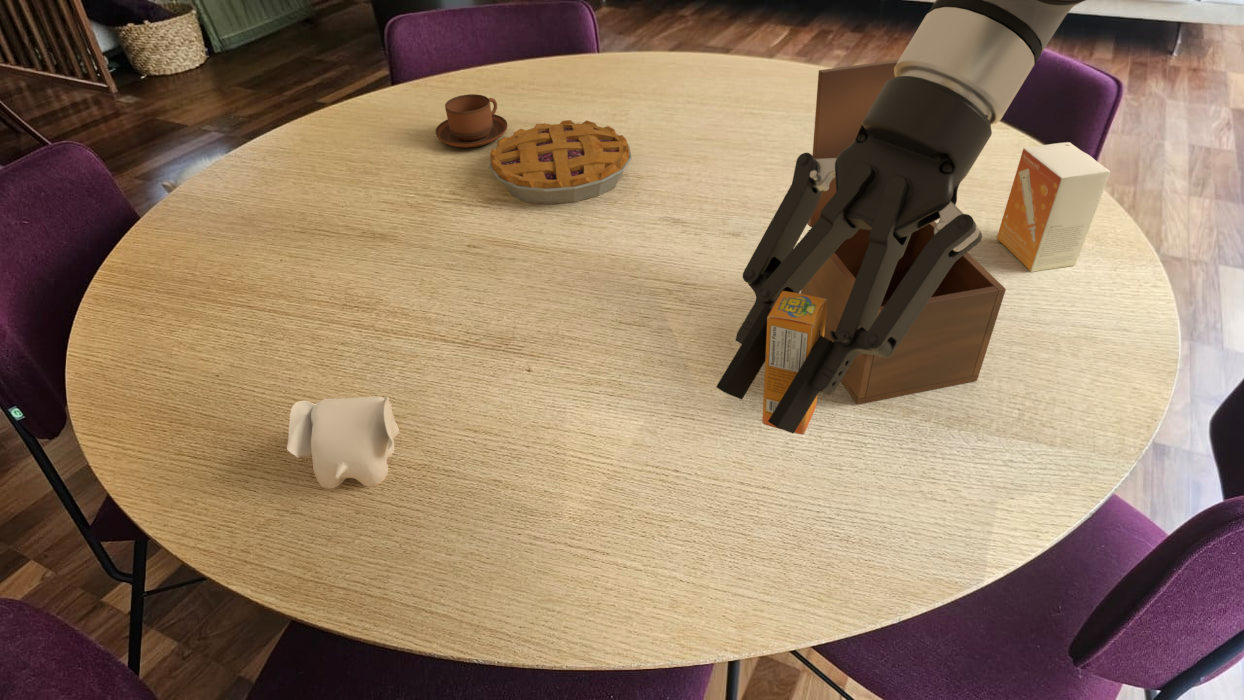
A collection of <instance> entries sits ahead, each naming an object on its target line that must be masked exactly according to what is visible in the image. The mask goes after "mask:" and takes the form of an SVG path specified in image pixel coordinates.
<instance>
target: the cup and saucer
mask: <svg viewBox="0 0 1244 700" xmlns="http://www.w3.org/2000/svg"><path fill="white" fill-rule="evenodd" d="M491 103H492V105H493V108H492V109H491ZM444 109H445V114H446V119H445V120H443V121H442V122H441V123H439V124H438V125H437V126H436V128H435V136H436V137H437V139H438V140H440V142H442V143H443V144H446V145H448V146H451V147H456V148H477V147H481V146H485V145H488V144H491V143H493V142H495V141H498V140H500V139H501V137H502V136H503V135H504V134H505V133H506V132H507V129H508V122H507V120H506V119H505V118H504V117H502V116H501V115H498V114H496V112H497V110H498V102H497V101H496V99H495V98H493V97H487V96H485V95H483V94H477V93H476V94H474V93H473V94H463V95H458V96H455V97H452V98H450V99H448V100H447V101H446V102H445V104H444Z"/></svg>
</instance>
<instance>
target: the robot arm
mask: <svg viewBox="0 0 1244 700" xmlns="http://www.w3.org/2000/svg"><path fill="white" fill-rule="evenodd" d="M1083 2H1086V0H935V1H934V2H933V4H932V6H931V8H930V9H929V11H928V12H927V13H926V15H925V16H924V18H923V19H922V21H921V22H920V24H919V26H918V28H917V30H916V31H915V33H914V34H913V35H912V37H911V39H910V41H909V43H908V44H907V46H906V48H905V49H904V50H903V53H902V54H901V55H900V57H899V58H898V60H899V61H898V62H897V64H896V66H895V67H894V75H895V78H893V79H890V80H888V81H887V82H886V83H885V84H884V86H883V88H882V89H881V91H880V93H879V94H878V96H877V98H876V99H875V101H874V103H873V104H872V106H871V108H870V109H869V111H868V113H867V114H866V116H865V118H864V119H863V121H862V124H861V126H860V129H859V132H858V135H857V137H856V139H855V140H854V142H853V143H852V144H851V145H850V146H848V147H847V148H846V149H844V150H843V151H842V152H841V153H840V154H839V155H838V157H837V158H823V159H815V158H814V157H813V156H812V155H813V154H811V153H810V152H802V153H801V154H800V155H799V156H798V157H797V159H796V161H795V166H794V171H793V176H792V183H791V185H790V186H789V188H788V190H787V191H786V194H785V195H784V197H783V199H782V201H781V203H780V204H779V206H778V208H777V210H776V212H775V214H774V215H773V217H772V220H771V221H770V223H769V225H768V226H767V228H766V230H765V232H764V233H763V235H762V237H761V238H760V241H759V243H758V245H757V246H756V248H755V250H754V252H753V254H752V255H751V257H750V259H749V261H748V262H747V264H746V267H745V268H744V270H743V272H742V279H743V281H744V282H745V283H746V284H747V285H748V286H749V287H750V288H751V289H752V291H753V292H754V294H755V301H754V304H753V305H752V306H751V308H750V310H749V312H748V313H747V315H746V317H745V319H744V321H743V322H742V324H741V326H740V327H739V328H738V330H737V332H736V335H735V342H737V343H738V344H740V347H739V348H738V350H737V351H736V352H735V354H734V356H733V358H732V360H731V362H729V364H728V366H727V368H726V369H725V371H724V373H723V374H722V376H721V378H720V379H719V381H718V383H717V384H716V386H715V387H716V388H717V389H718V390H720V391H721V392H723V393H725V394H727V395H729V396H732V397H734V398H737V399H739V400H740V401H741V400H743V399H744V397H745V396H746V394H747V392H748V391H749V389H750V387H751V386H752V384H753V382H754V381H755V379H756V377H757V375H759V372H760V371H761V369H762V367H763V366H764V365H765V355H766V338H767V317H768V315H769V313H770V312H771V310H772V308H773V306H774V304H775V303H776V301H777V299H778V297H779V296H780V294H781V292H782V291H787V292H793V293H799V294H800V293H801V290H802V289H803V288H804V286H805V285H806V284H807V283H808V282H809V281H810V280H811V278H812V277H813V276H814V275H815V274H816V273H817V271H818V270H819V269H820V268H821V267H822V266H823V265H824V263H825V262H826V261H827V260H828V259H829V258H830V257H831V255H832V254H833V253H834V252H835V251H836V250H837V249H838V247H839V246H840V245H841V244H842V243H843V242H844V241H845V240H846V239H850V238H851V237H852V236H854V234H855V233H856V232H857V231H858V230H859V229H866V230H871V231H870V235H869V246H868V249H867V251H866V254H865V257H864V259H863V262H862V264H861V267H860V270H859V272H858V275H857V277H856V280H855V283H854V285H853V288H852V290H851V293H850V296H849V298H848V301H847V304H846V306H845V309H844V311H843V314H842V317H841V319H840V322H839V324H838V327H837V330H836V332H834V331H832V330H831V332H830V335H831V338H832V339H833V340H834V342H832V341H830V340H828V339H827V338H825V337H823V336H821V335H820V337H819V338H818V340H817V342H816V343H815V345H814V347H813V348H812V350H811V352H810V353H809V355H808V357H807V358H806V360H805V361H804V363H803V365H802V366H801V368H800V370H799V371H798V373H797V375H796V376H795V378H794V379H793V381H792V383H791V384H790V386H789V388H788V389H787V391H786V393H785V394H784V396H783V397H782V399H781V401H780V402H779V404H778V406H777V407H776V409H775V411H774V412H773V414H772V415H771V417H770V419H769V420H768V422H770V423H771V424H773V425H774V426H776V427H777V428H776V429H778V428H780V429H779V430H782V429H783V430H782V431H786V432H788V433H790V434H795V433H794V432H795V430H796V429H797V427H798V426H799V424H800V422H801V421H802V419H803V417H804V416H805V414H806V413H807V411H808V409H809V408H810V406H811V404H812V403H813V401H814V400H815V398H816V396H817V395H818V396H819V393H822V394H824V395H826V396H827V397H829V396H830V395H832V394H833V393H834V392H835V391H836V390H837V388H838V387H839V385H840V383H841V382H842V381H841V380H842V378H843V377H844V375H845V373H846V372H847V370H848V369H849V367H850V365H851V364H852V362H853V360H854V359H855V358H856V357H857V356H859V355H861V354H870V355H877V356H880V357H882V358H887V357H889V356H891V355H892V354H893V352H894V351H895V350H896V348H897V347H898V345H899V344H900V342H901V341H902V339H903V338H904V336H905V335H906V333H907V332H908V330H909V329H910V327H911V326H912V324H913V323H914V322H915V320H916V319H917V317H918V316H919V314H920V313H921V311H922V310H923V308H924V307H925V305H926V304H927V302H928V301H929V299H930V298H931V297H932V295H933V294H934V292H935V291H936V289H937V288H938V286H939V285H940V283H941V282H942V280H943V279H944V277H945V276H946V274H947V273H948V271H949V270H950V269H951V267H952V266H953V264H954V263H955V261H957V260H958V259H959V258H960V257H962V256H963V255H964V254H966V253H967V252H968V253H969V252H970V251H971V250H972V249H973V248H975V247H976V246H977V245H978V244H980V242H981V241H982V239H983V233H982V232H981V230H980V227H978V225H977V223H976V222H975V220H974V218H973V216H971V215H970V214H969V213H968V214H967V213H964V212H962V210H960V209H959V207H957V201H958V190H959V187H960V185H961V183H962V182H963V181H964V179H965V178H966V177H967V176H968V174H969V172H970V171H971V169H972V167H973V166H974V164H975V163H976V161H977V159H978V158H979V157H980V155H981V153H982V151H983V150H984V148H985V146H986V145H987V143H988V141H989V140H990V138H991V137H992V133H993V131H992V125H994V124H997V123H998V122H1000V121H1001V120H1002V118H1003V117H1004V115H1005V114H1006V112H1007V110H1008V109H1009V107H1010V105H1011V104H1012V102H1013V101H1014V99H1015V98H1016V96H1017V94H1018V92H1019V91H1020V89H1021V88H1022V86H1023V84H1024V83H1025V81H1026V80H1027V77H1028V76H1029V75H1030V73H1031V71H1032V69H1033V68H1034V66H1035V65H1036V64H1037V62H1038V61H1039V59H1040V57H1041V55H1042V53H1043V52H1044V50H1045V49H1046V47H1047V45H1048V44H1049V42H1050V41H1051V39H1052V38H1053V37H1054V35H1055V33H1056V31H1057V30H1058V28H1059V27H1060V25H1061V24H1062V22H1063V20H1065V18H1066V16H1067V15H1068V14H1069V12H1070V11H1071V10H1072V9H1073V8H1074V7H1076V6H1077V5H1079V4H1082V3H1083ZM834 178H836V194H835V195H834V196H833V197H832V198H831V200H830V201H829V202H828V203H827V204H826V205H825V207H824V208H823V209H822V211H821V214H820V218H819V220H818V221H817V222H816V223H815V224H814V225H813V227H810V228H809V229H808V230H807V232H806V233H805V235H803V237H802V238H801V236H802V234H803V232H804V231H805V229H806V227H807V226H808V224H807V223H808V222H809V220H810V218H811V216H812V214H813V213H814V211H815V209H816V207H817V205H818V203H819V200H820V197H821V194H822V191H827V190H828V189H829V184H830V182H831V181H832V180H833V179H834ZM843 217H844V218H843ZM934 221H935V222H936V221H938V222H936V223H937V224H936V226H935V228H934V236H933V237H932V238H931V239H930V240H929V241H928V243H927V244H926V245H925V247H924V248H923V250H922V251H921V253H920V254H919V256H918V257H917V259H916V260H915V262H914V263H913V265H912V266H911V267H910V269H909V270H908V272H907V273H906V275H905V276H904V278H903V279H902V281H901V282H900V284H899V285H898V287H897V288H896V290H895V291H894V293H893V294H892V296H891V297H890V299H889V300H888V302H887V303H886V305H885V306H884V308H883V309H882V311H881V312H880V314H879V315H878V317H877V314H878V312H879V309H880V307H881V304H882V301H883V299H884V296H885V293H886V291H887V288H888V286H889V283H890V280H891V278H892V275H893V273H894V270H895V267H896V265H897V262H898V260H899V259H900V258H902V256H903V255H904V252H905V249H906V247H907V244H908V242H909V239H910V236H911V234H912V233H913V232H915V231H917V230H919V229H920V228H922V227H924V226H926V225H928V224H930V223H932V222H934ZM800 238H801V239H800ZM799 239H800V240H799ZM798 241H799V242H798ZM876 317H877V318H876ZM818 396H817V397H818Z"/></svg>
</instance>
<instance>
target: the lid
mask: <svg viewBox="0 0 1244 700" xmlns="http://www.w3.org/2000/svg"><path fill="white" fill-rule="evenodd" d="M898 61H899V59H892V60H886V61H878V62H871V63H862V64H855V65H854V64H853V65H846V66H840V67H832V68H825V69H819V70H818V74H817V89H816V101H815V115H814V116H815V117H814V131H813V142H812V143H813V144H812V145H813V146H812V154H811V155H812V156H813V157H814V158H815V159H823V158H837V157H838V155H839V154H840V153H841V152H842V151H843V150H844V149H846V148H847V147H848V146H850V145H851V144H852V143H853V142H854V140H855V139H856V137H857V135H858V132H859V129H860V126H861V124H862V121H863V119H864V118H865V116H866V114H867V113H868V111H869V109H870V108H871V106H872V104H873V103H874V101H875V99H876V98H877V96H878V94H879V93H880V91H881V89H882V88H883V86H884V84H885V83H886V82H887V81H888V80H890V79H893V78H895V75H894V67H895V66H896V64H897V62H898ZM835 194H836V178H834V179H833V180H832V181H831V182H830V184H829V189H828V190H827V191H822V194H821V197H820V200H819V203H818V205H817V207H816V209H815V211H814V213H813V214H812V216H811V218H810V220H809V222H808V223H807V226H808V227H810V228H812V227H813V225H814V224H815V223H816V222H817V221H818V220H819V218H820V214H821V211H822V209H823V208H824V207H825V205H826V204H827V203H828V202H829V201H830V200H831V198H832V197H833V196H834V195H835ZM843 218H844V217H843Z"/></svg>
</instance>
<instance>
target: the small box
mask: <svg viewBox="0 0 1244 700" xmlns="http://www.w3.org/2000/svg"><path fill="white" fill-rule="evenodd" d="M1110 174H1111V170H1110V169H1108V168H1107V167H1106V166H1104V165H1103V164H1102V163H1099V162H1098V161H1097V160H1095V158H1093V157H1092V156H1091V155H1090V154H1088V153H1086V152H1085V151H1083V150H1081V149H1080V148H1078V147H1077V146H1076V145H1074V144H1073V143H1072V142H1069V141H1065V142H1057V143H1049V144H1041V145H1036V146H1029V147H1023V148H1022V152H1021V155H1020V158H1019V162H1018V166H1017V169H1016V172H1015V175H1014V179H1013V182H1012V185H1011V188H1010V192H1009V195H1008V199H1007V202H1006V205H1005V208H1004V211H1003V215H1002V219H1001V221H1000V226H999V229H998V233H997V236H996V240H998V242H1000V243H1001V244H1002V245H1003V246H1004V247H1005V248H1006V249H1007V250H1008V251H1010V253H1012V254H1013V256H1014V257H1016V259H1018V260H1019V262H1021V264H1022V265H1024V267H1026V269H1027V270H1028V271H1029V272H1030V273H1032V272H1039V271H1045V270H1053V269H1058V268H1059V269H1060V268H1066V267H1071V266H1072V267H1073V266H1076V265H1077V262H1078V261H1079V257H1080V254H1081V252H1082V250H1083V247H1084V244H1085V242H1086V239H1087V236H1088V233H1089V230H1090V228H1091V225H1092V223H1093V219H1094V217H1095V214H1096V211H1097V209H1098V206H1099V204H1100V201H1101V198H1102V197H1103V193H1104V190H1105V188H1106V185H1107V182H1108V179H1109V177H1110Z"/></svg>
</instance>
